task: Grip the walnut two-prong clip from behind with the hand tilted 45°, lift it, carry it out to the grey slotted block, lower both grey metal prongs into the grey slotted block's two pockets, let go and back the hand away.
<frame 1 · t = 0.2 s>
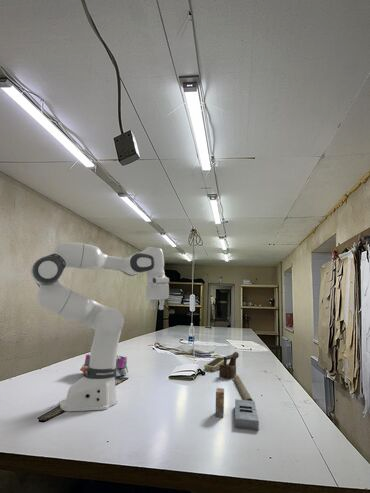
hand: (157, 309, 142), 39 cm above the table, fingers open, 8 cm apart
roll: (242, 391, 151), on the table
clip: (219, 414, 116), on the table
wooden tool caddy: (230, 376, 179), on the table
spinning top: (104, 376, 168), on the table
box: (214, 369, 198), on the table
grey slotted block: (245, 417, 115), on the table
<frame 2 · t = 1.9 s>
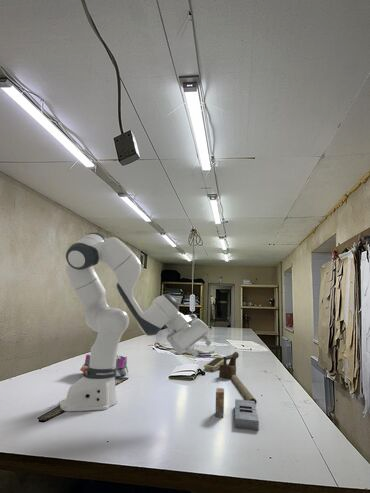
hand: (203, 349, 124), 24 cm above the table, fingers open, 8 cm apart
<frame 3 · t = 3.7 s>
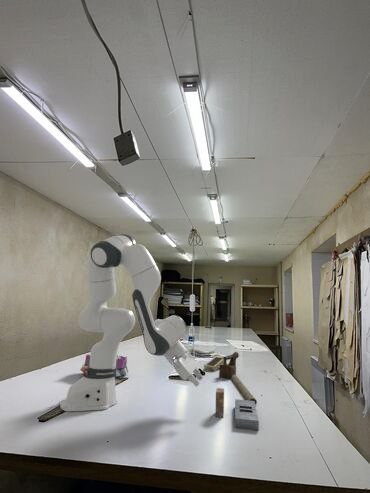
hand: (199, 382, 119), 12 cm above the table, fingers open, 8 cm apart
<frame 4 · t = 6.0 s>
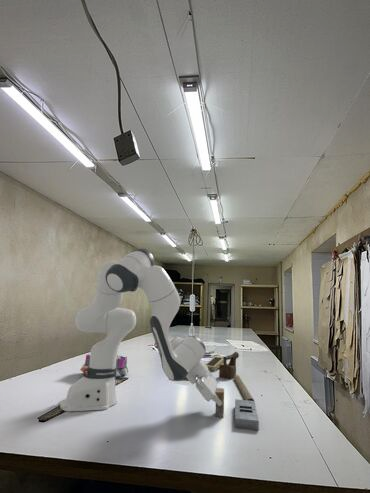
hand: (221, 401, 117), 5 cm above the table, fingers closed on clip, 6 cm apart
clip: (219, 414, 116), on the table, touching gripper
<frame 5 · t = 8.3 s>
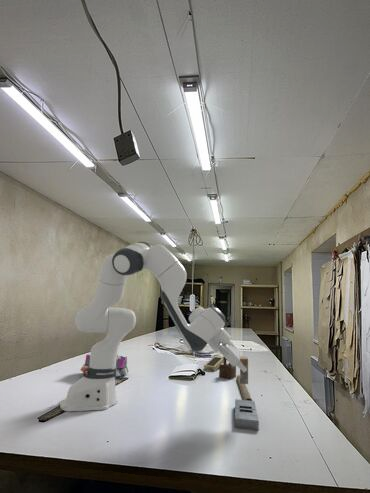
hand: (245, 369, 117), 18 cm above the table, fingers closed on clip, 6 cm apart
clip: (244, 382, 116), point 13 cm above the table, touching gripper
when the fingers open (6 cm above the table, at t = 10.7 s): clip drops 1 cm, resting in grey slotted block.
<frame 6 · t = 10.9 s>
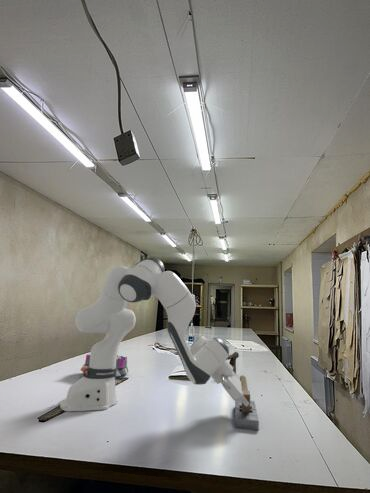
hand: (247, 401, 116), 6 cm above the table, fingers open, 7 cm apart
clip: (245, 417, 115), resting in grey slotted block
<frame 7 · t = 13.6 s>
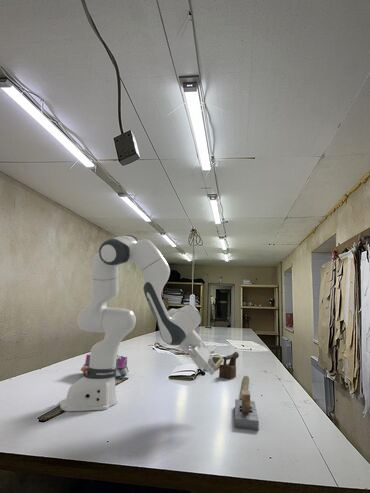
hand: (214, 370, 120), 16 cm above the table, fingers open, 8 cm apart
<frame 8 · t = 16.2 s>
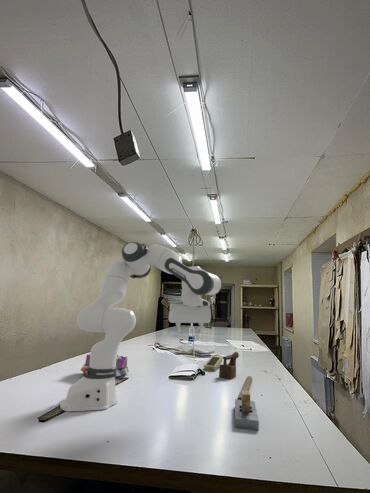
hand: (189, 333, 133), 29 cm above the table, fingers open, 8 cm apart
at the end: clip 0.0 cm off-centre on the grey slotted block, point 0.0 cm above the grey slotted block's base; clip tilted 0°; the gripper is holding nothing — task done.
